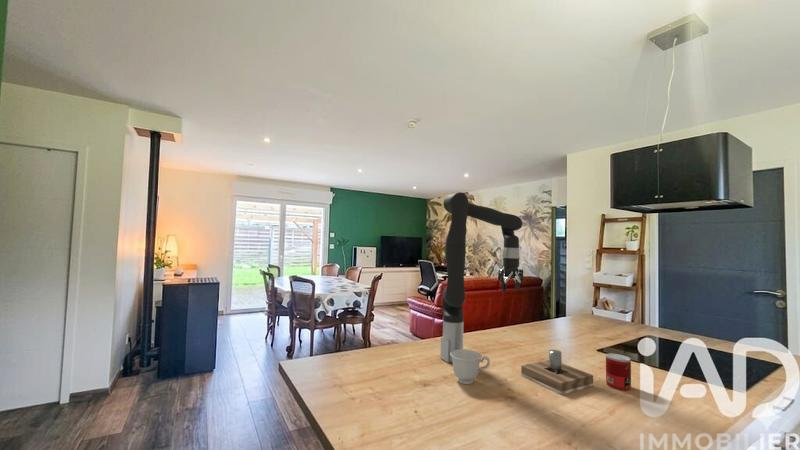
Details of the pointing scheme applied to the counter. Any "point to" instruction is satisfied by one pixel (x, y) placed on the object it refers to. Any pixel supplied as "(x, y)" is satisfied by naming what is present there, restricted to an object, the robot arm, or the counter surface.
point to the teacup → (467, 364)
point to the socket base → (557, 377)
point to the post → (555, 361)
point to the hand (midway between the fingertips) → (510, 290)
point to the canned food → (618, 371)
